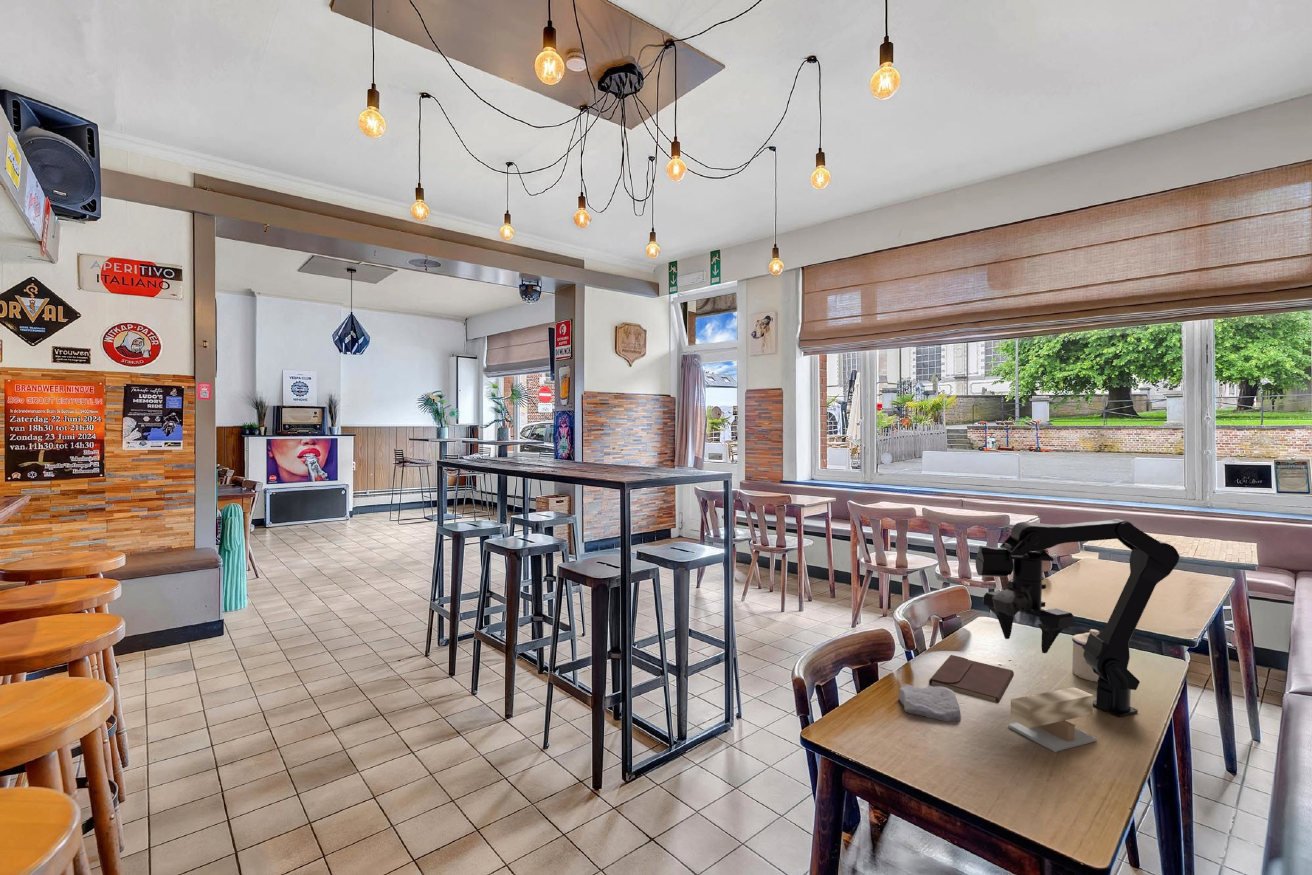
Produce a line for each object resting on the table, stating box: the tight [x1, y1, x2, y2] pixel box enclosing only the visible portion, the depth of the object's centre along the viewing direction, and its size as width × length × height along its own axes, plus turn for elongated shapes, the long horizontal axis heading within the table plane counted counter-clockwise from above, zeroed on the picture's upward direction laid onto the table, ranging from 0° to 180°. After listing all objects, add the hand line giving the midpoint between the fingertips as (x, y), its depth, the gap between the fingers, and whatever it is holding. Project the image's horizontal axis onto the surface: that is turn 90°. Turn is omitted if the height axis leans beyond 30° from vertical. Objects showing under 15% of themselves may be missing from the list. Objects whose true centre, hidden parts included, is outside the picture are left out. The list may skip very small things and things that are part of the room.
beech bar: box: [1009, 686, 1094, 728], centre depth 123 cm, size 18×4×4 cm, turn 109°
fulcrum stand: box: [1007, 720, 1097, 753], centre depth 123 cm, size 12×10×4 cm
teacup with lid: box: [1071, 628, 1100, 683], centre depth 153 cm, size 12×9×12 cm
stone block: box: [898, 684, 962, 722], centre depth 133 cm, size 12×5×10 cm
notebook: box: [928, 654, 1015, 704], centre depth 149 cm, size 15×20×2 cm
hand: (1025, 645), depth 138 cm, fingers open, 9 cm apart
